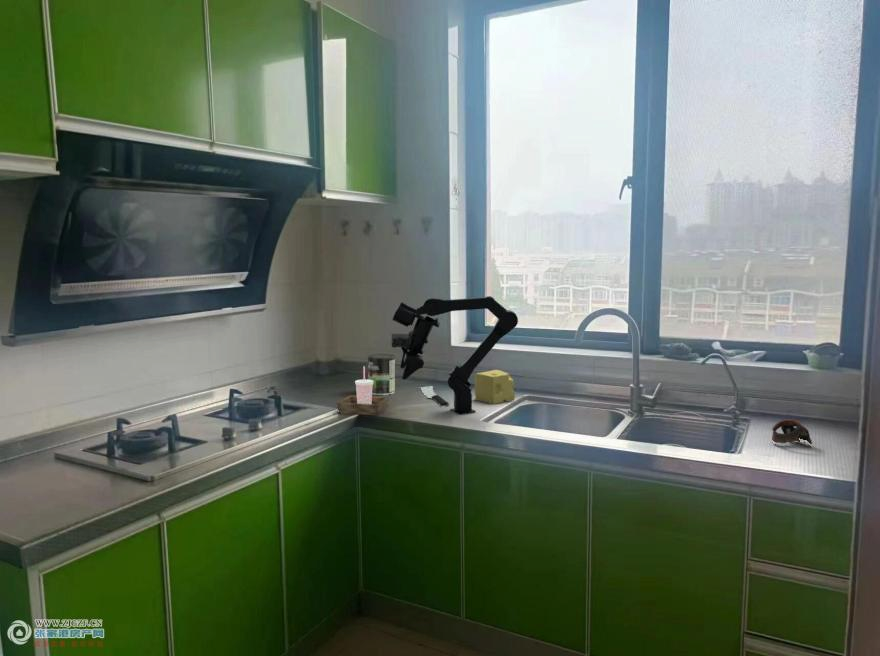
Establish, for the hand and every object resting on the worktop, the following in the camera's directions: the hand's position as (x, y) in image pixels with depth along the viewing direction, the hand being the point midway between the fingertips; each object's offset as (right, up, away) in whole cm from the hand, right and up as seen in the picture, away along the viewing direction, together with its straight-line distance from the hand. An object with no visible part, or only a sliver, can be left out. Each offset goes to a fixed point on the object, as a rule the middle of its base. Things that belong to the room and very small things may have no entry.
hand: (402, 373), depth 215 cm
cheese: (+32, -11, +15) cm, 37 cm away
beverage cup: (-13, -12, -1) cm, 17 cm away
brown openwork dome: (+110, -17, -38) cm, 118 cm away
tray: (-13, -12, -1) cm, 18 cm away
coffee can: (-10, -9, +27) cm, 30 cm away
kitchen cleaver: (+8, -11, +19) cm, 24 cm away
